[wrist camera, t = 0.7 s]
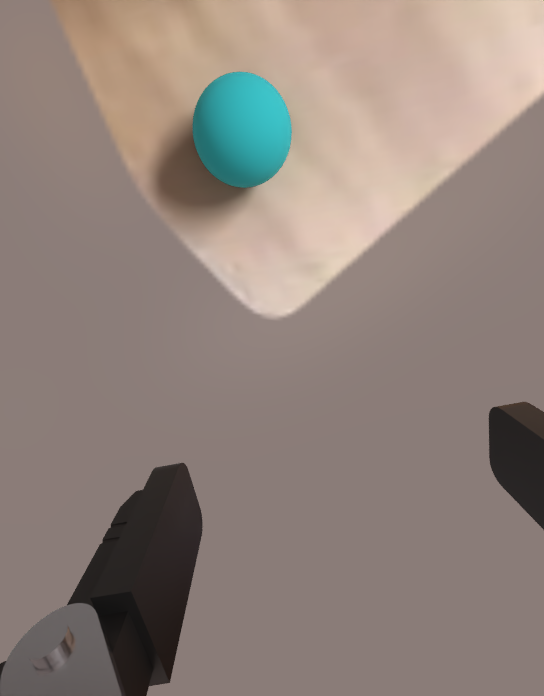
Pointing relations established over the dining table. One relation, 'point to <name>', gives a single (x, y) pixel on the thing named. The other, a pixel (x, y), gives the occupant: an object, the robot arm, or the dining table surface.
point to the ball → (242, 129)
